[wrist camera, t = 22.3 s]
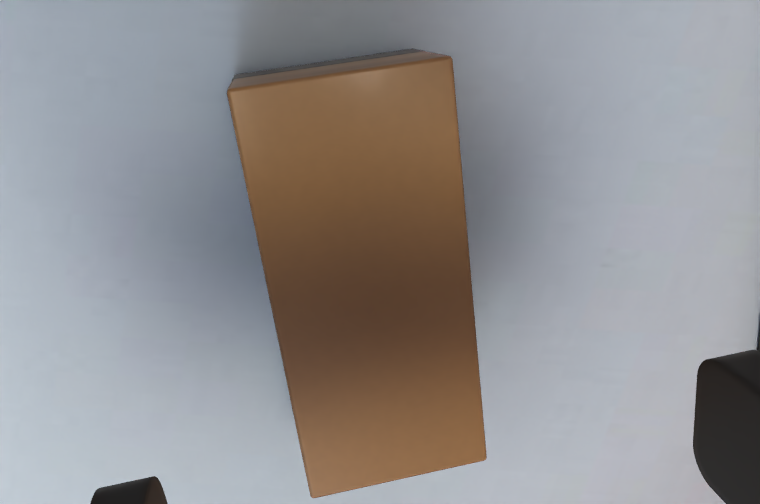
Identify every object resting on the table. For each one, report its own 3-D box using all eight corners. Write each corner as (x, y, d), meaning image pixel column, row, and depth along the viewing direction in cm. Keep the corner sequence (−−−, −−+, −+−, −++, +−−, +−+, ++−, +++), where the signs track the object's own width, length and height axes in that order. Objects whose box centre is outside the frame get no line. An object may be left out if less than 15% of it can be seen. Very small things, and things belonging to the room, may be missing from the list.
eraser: (233, 74, 18) (225, 89, 14) (414, 48, 18) (452, 55, 14) (302, 417, 21) (311, 500, 18) (449, 386, 22) (487, 461, 18)
